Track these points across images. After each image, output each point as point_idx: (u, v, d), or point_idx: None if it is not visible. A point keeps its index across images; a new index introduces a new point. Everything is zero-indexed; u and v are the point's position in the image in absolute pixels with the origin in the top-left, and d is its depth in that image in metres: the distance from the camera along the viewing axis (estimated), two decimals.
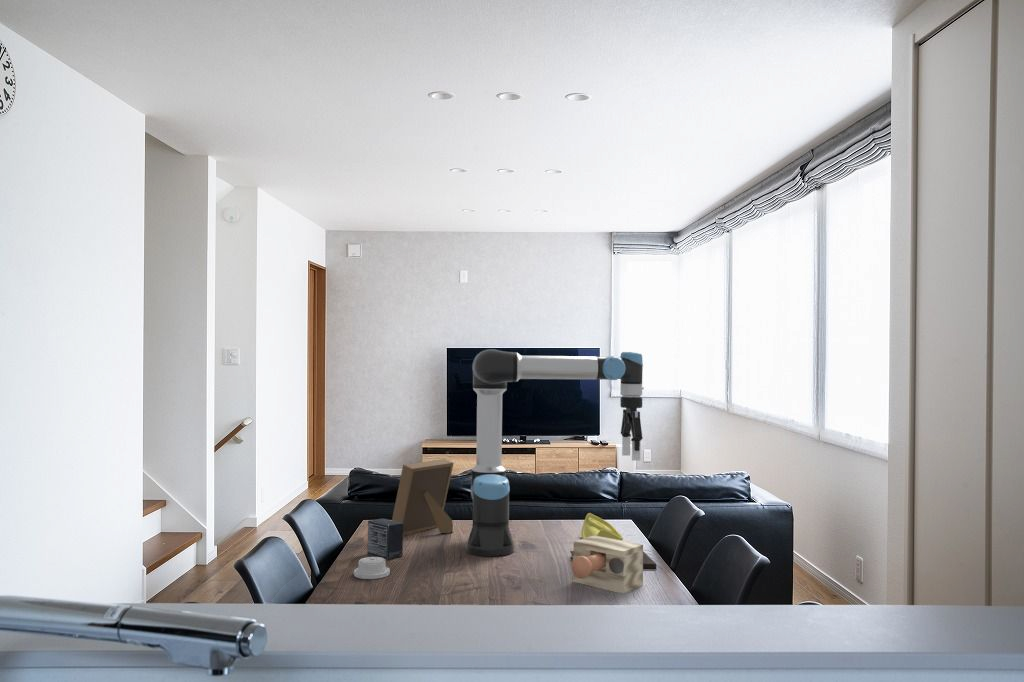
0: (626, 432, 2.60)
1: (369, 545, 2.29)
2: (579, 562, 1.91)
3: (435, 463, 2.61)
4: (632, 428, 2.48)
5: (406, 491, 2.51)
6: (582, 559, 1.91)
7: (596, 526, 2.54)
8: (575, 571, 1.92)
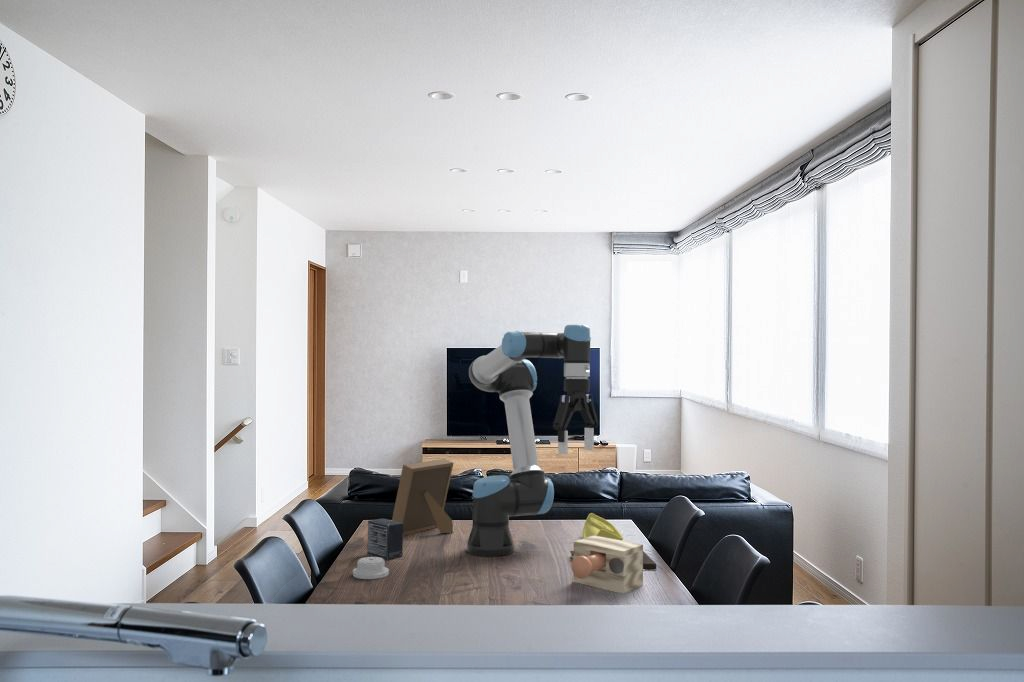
0: (587, 422, 2.17)
1: (369, 545, 2.29)
2: (579, 562, 1.91)
3: (435, 463, 2.61)
4: None
5: (406, 491, 2.51)
6: (582, 559, 1.91)
7: (597, 526, 2.54)
8: (575, 571, 1.92)
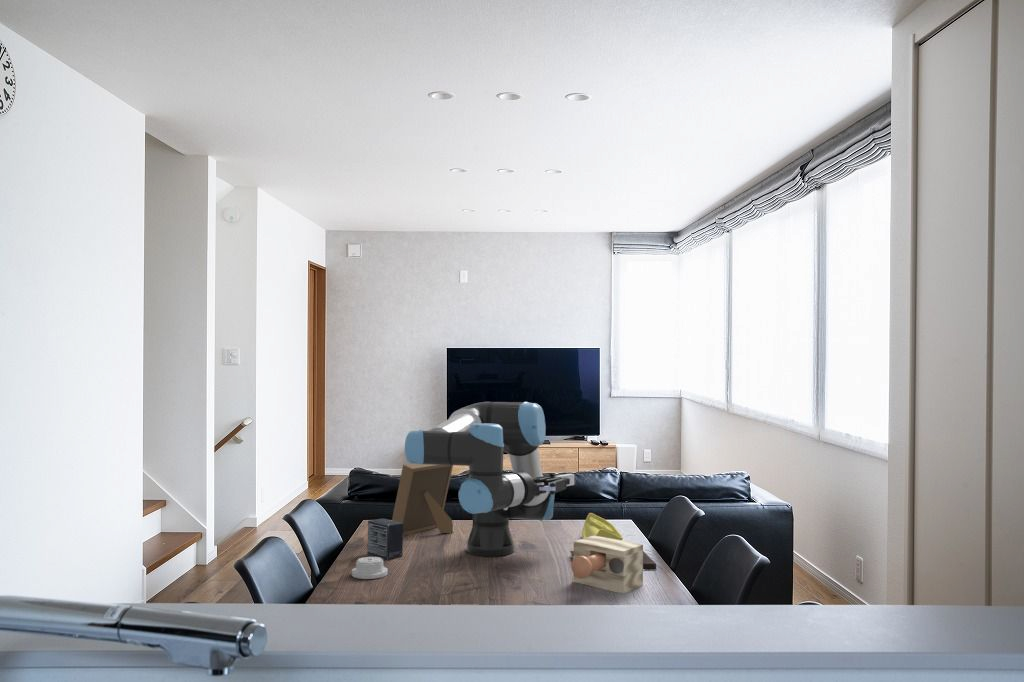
0: None
1: (369, 545, 2.29)
2: (579, 562, 1.91)
3: None
4: (539, 479, 1.81)
5: (406, 491, 2.51)
6: (582, 559, 1.91)
7: (597, 526, 2.54)
8: (575, 571, 1.92)
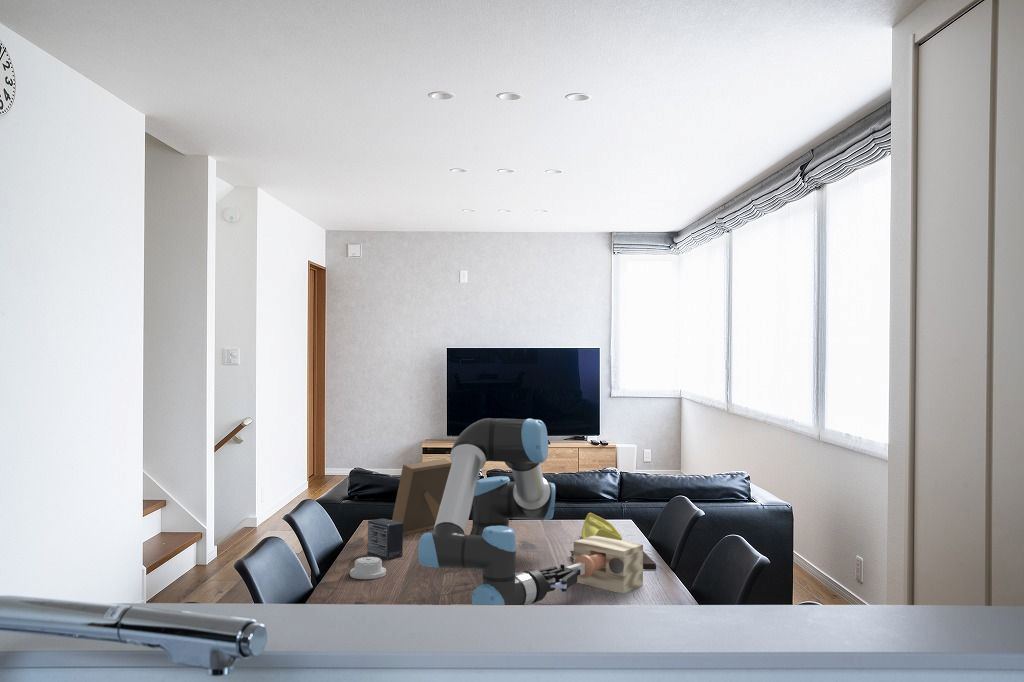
0: None
1: (369, 545, 2.29)
2: (582, 561, 1.92)
3: (435, 463, 2.61)
4: None
5: (406, 491, 2.51)
6: (584, 558, 1.91)
7: (596, 525, 2.55)
8: None
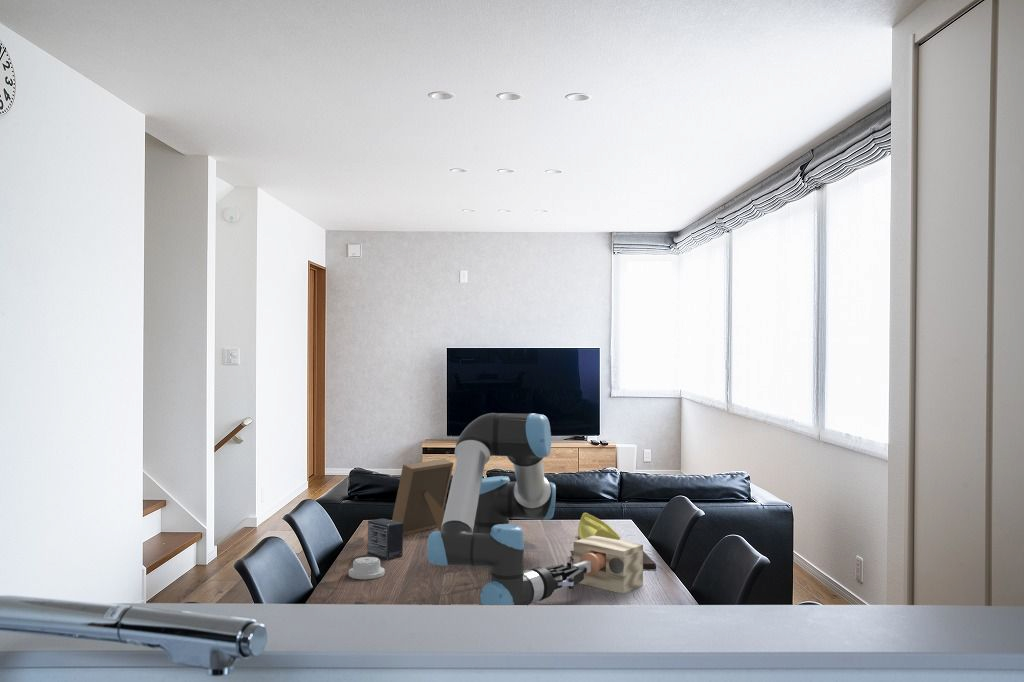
0: None
1: (369, 545, 2.29)
2: (587, 559, 1.94)
3: (435, 463, 2.61)
4: (557, 569, 1.86)
5: (406, 491, 2.51)
6: (590, 556, 1.93)
7: (592, 525, 2.55)
8: None
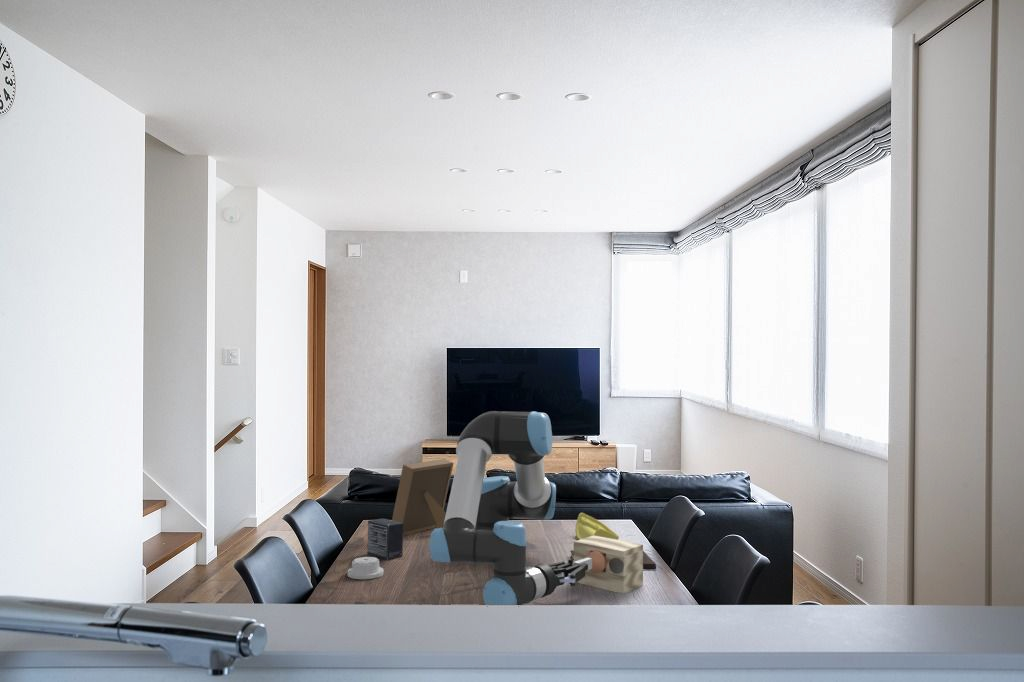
0: None
1: (369, 545, 2.29)
2: (594, 557, 1.96)
3: (435, 463, 2.61)
4: (559, 566, 1.86)
5: (406, 491, 2.51)
6: (597, 554, 1.96)
7: (590, 525, 2.55)
8: None
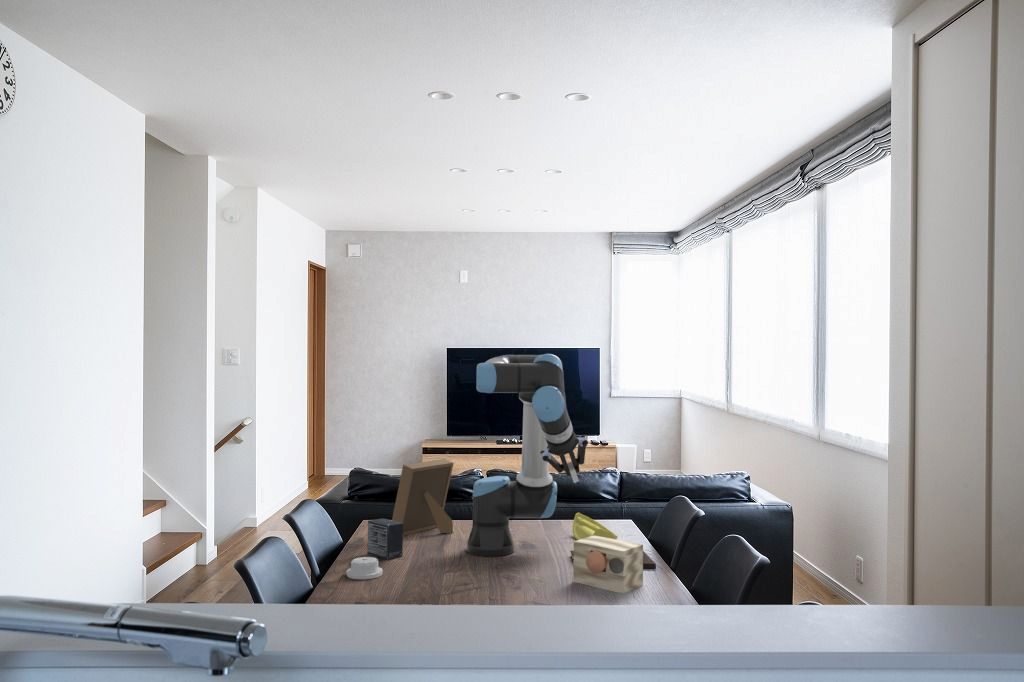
0: (571, 460, 1.97)
1: (369, 545, 2.29)
2: (594, 557, 1.96)
3: (435, 463, 2.61)
4: None
5: (406, 491, 2.51)
6: (597, 554, 1.96)
7: (587, 525, 2.55)
8: (590, 566, 1.97)
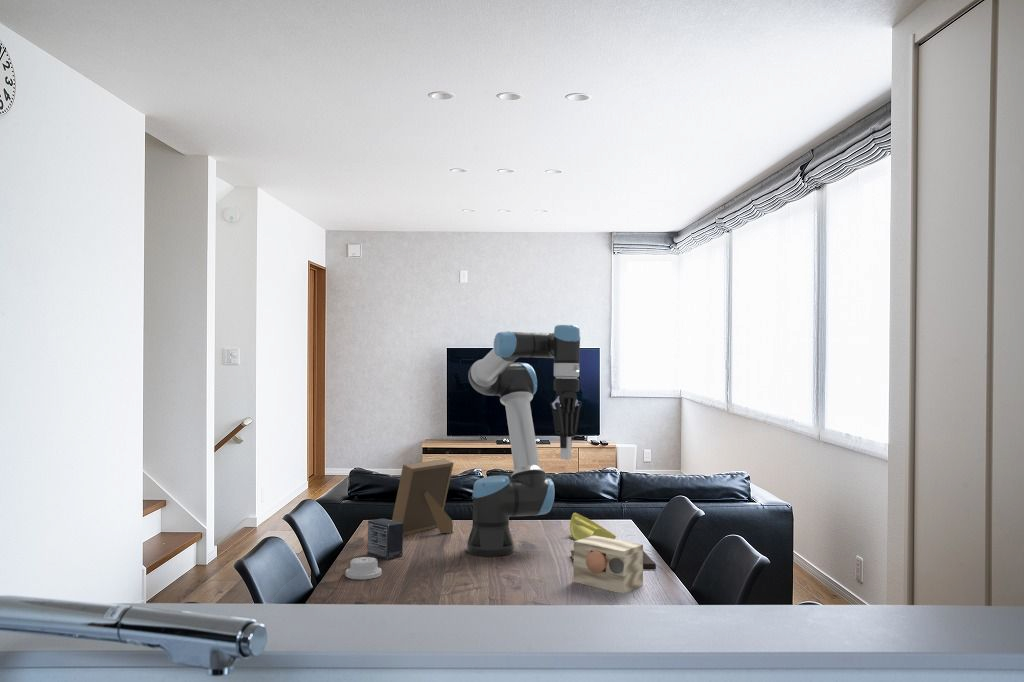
0: None
1: (369, 545, 2.29)
2: (594, 557, 1.96)
3: (435, 463, 2.61)
4: None
5: (406, 491, 2.51)
6: (597, 554, 1.96)
7: (585, 525, 2.55)
8: (590, 566, 1.97)
